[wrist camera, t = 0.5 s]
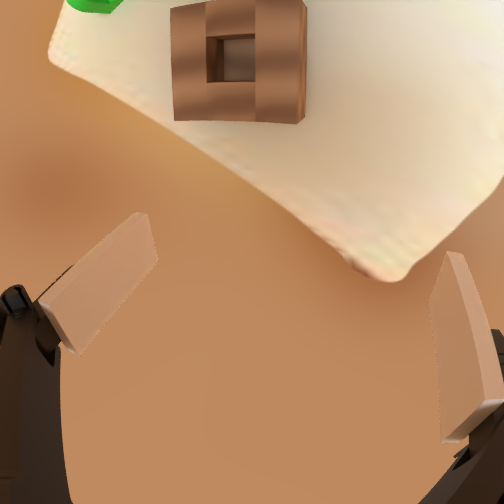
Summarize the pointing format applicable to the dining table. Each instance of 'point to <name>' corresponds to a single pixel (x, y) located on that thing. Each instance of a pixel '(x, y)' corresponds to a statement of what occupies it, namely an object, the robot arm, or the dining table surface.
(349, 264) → the dining table surface
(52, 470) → the robot arm
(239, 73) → the bore block
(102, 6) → the mechanical part
